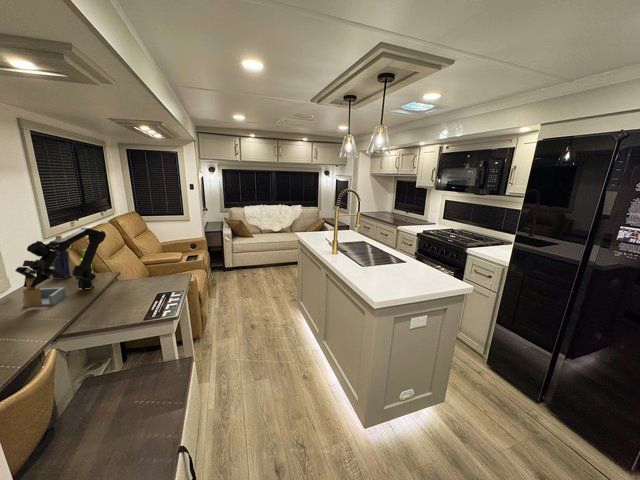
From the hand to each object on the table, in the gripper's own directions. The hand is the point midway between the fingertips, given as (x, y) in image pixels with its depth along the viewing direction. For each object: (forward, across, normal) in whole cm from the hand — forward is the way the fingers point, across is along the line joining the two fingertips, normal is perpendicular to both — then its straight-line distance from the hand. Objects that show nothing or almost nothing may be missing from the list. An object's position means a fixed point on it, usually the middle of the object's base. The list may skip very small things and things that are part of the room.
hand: (28, 287), depth 135 cm
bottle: (-23, -27, +43) cm, 56 cm away
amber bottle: (+6, 0, +8) cm, 11 cm away
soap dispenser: (-26, -14, +46) cm, 55 cm away
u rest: (+2, -3, +17) cm, 17 cm away
